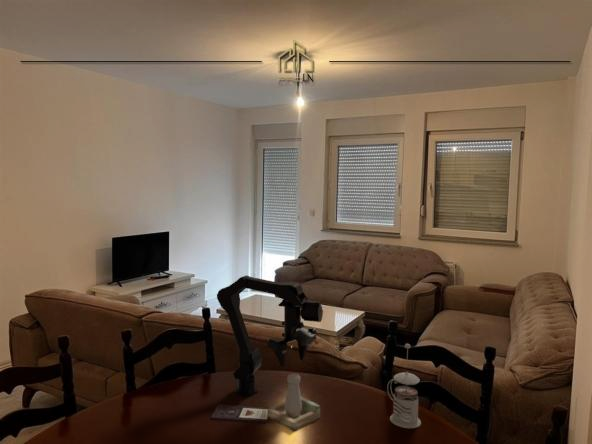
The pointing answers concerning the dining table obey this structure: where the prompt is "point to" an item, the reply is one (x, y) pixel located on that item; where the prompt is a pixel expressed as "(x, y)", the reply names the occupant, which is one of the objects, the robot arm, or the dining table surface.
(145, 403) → the dining table surface
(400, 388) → the french press
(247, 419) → the chocolate bar
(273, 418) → the maple tray
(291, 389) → the salt shaker
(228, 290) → the robot arm
